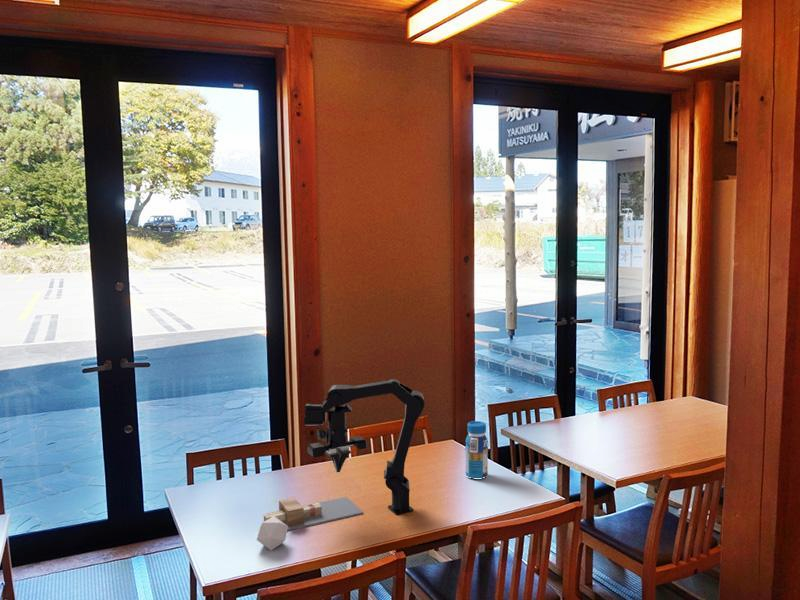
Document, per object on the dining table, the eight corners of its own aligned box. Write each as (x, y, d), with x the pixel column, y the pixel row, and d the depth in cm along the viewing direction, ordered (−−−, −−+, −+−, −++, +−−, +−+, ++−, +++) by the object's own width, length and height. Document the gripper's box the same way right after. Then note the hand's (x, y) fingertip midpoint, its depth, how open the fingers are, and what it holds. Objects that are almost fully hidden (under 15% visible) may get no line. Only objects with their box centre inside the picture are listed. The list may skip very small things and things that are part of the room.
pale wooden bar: (321, 514, 210) (321, 506, 209) (266, 526, 201) (266, 518, 201) (318, 511, 212) (318, 502, 212) (263, 523, 204) (263, 514, 204)
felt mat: (363, 513, 212) (363, 512, 211) (278, 532, 199) (278, 531, 199) (346, 498, 224) (346, 496, 224) (265, 515, 211) (265, 513, 211)
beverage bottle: (460, 474, 244) (460, 422, 242) (479, 470, 248) (479, 419, 246) (473, 482, 237) (473, 428, 235) (492, 478, 241) (493, 424, 239)
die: (291, 551, 189) (294, 516, 194) (270, 546, 183) (273, 511, 188) (271, 554, 193) (274, 520, 198) (249, 550, 187) (253, 515, 192)
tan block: (304, 523, 204) (303, 507, 203) (288, 526, 201) (288, 511, 201) (294, 512, 212) (294, 497, 211) (279, 515, 210) (278, 500, 209)
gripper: (353, 414, 222) (354, 459, 224) (301, 422, 214) (302, 469, 215) (367, 423, 213) (368, 469, 214) (312, 431, 204) (314, 480, 206)
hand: (338, 471), depth 213 cm, fingers closed
